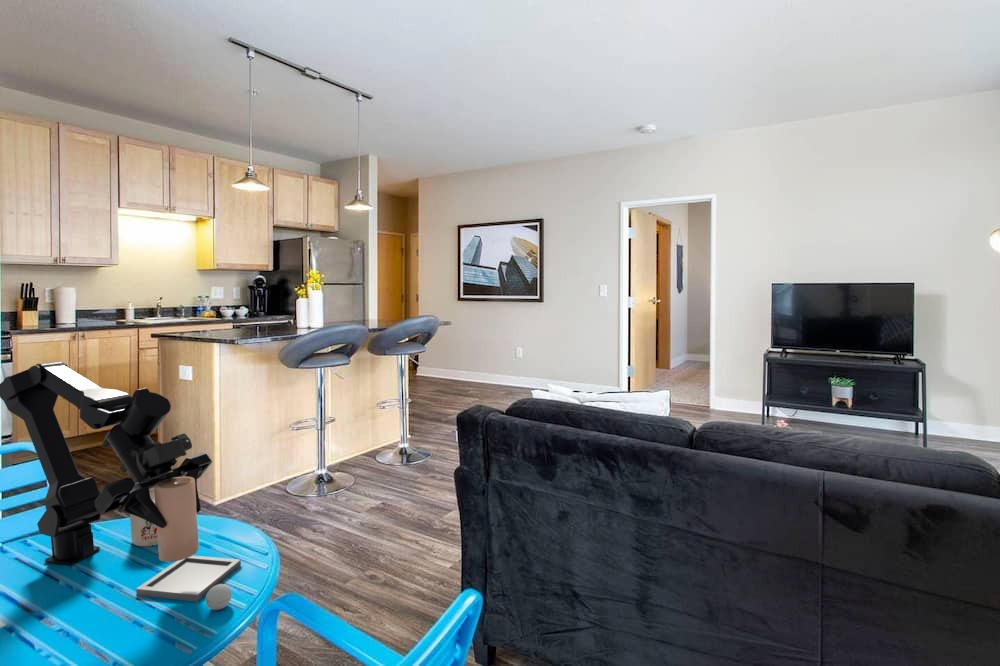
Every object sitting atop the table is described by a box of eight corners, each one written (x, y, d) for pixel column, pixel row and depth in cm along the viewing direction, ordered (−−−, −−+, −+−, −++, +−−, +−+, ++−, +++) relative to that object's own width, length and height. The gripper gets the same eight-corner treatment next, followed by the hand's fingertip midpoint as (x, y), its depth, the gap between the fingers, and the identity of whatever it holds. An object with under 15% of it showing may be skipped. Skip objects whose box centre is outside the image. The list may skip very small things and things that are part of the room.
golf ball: (200, 614, 90) (199, 592, 89) (214, 600, 94) (213, 578, 93) (224, 615, 90) (222, 592, 89) (237, 601, 94) (235, 579, 93)
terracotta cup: (151, 562, 93) (146, 490, 92) (168, 545, 99) (164, 477, 98) (189, 560, 94) (185, 488, 93) (204, 543, 100) (200, 475, 99)
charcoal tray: (136, 595, 95) (136, 588, 95) (186, 560, 107) (185, 554, 107) (197, 601, 93) (196, 595, 93) (240, 565, 105) (240, 559, 105)
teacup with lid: (140, 552, 111) (136, 497, 109) (124, 539, 116) (120, 487, 115) (201, 530, 120) (198, 480, 119) (183, 519, 126) (180, 471, 124)
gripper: (100, 437, 87) (150, 514, 84) (202, 411, 104) (247, 474, 101) (74, 477, 91) (121, 552, 88) (177, 446, 108) (219, 508, 105)
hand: (182, 518), depth 95 cm, fingers closed on terracotta cup, 6 cm apart
